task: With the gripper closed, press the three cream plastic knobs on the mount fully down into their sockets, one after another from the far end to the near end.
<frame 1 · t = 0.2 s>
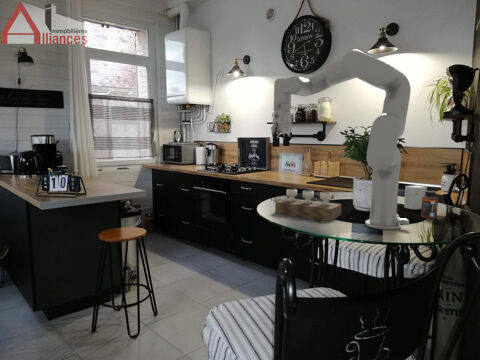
hand: (281, 146, 157), 30 cm above the table, fingers open, 9 cm apart
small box: (414, 208, 167), on the table
knob mount: (307, 214, 155), on the table
knob near: (325, 200, 149), point 7 cm above the table, slide at 0.0 cm
knob far: (291, 196, 158), point 7 cm above the table, slide at 0.0 cm
supplement bottle: (428, 218, 148), on the table
knob middle: (308, 198, 154), point 7 cm above the table, slide at 0.0 cm
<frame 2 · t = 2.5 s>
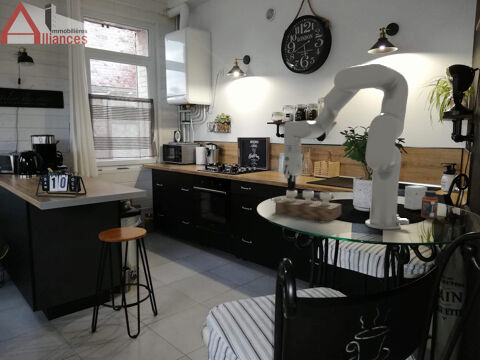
hand: (291, 189, 158), 10 cm above the table, fingers closed
knob far: (291, 197, 158), point 7 cm above the table, slide at 0.4 cm, touching gripper
everything else where it was.
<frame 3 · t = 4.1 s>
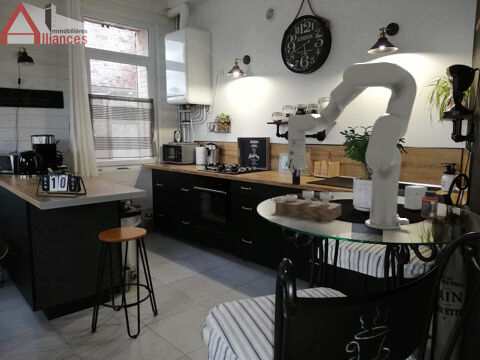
hand: (296, 184, 156), 13 cm above the table, fingers closed
knob far: (291, 202, 159), point 5 cm above the table, slide at 2.6 cm
everything else where it was.
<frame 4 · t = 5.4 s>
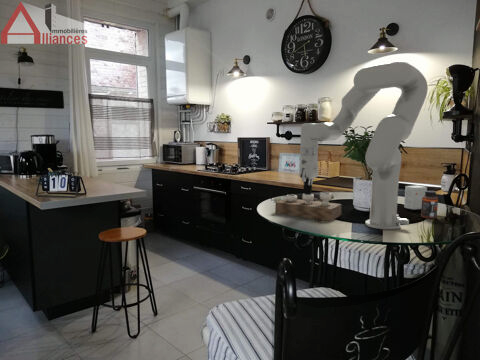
hand: (307, 193, 154), 9 cm above the table, fingers closed
knob middle: (308, 201, 154), point 6 cm above the table, slide at 1.4 cm, touching gripper
everything else where it was.
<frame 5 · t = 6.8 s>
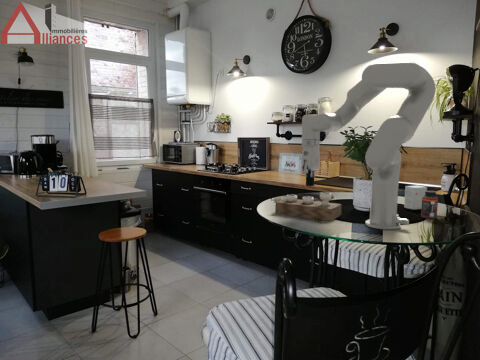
hand: (310, 185, 153), 13 cm above the table, fingers closed
knob middle: (307, 204, 154), point 5 cm above the table, slide at 2.6 cm
everything else where it was.
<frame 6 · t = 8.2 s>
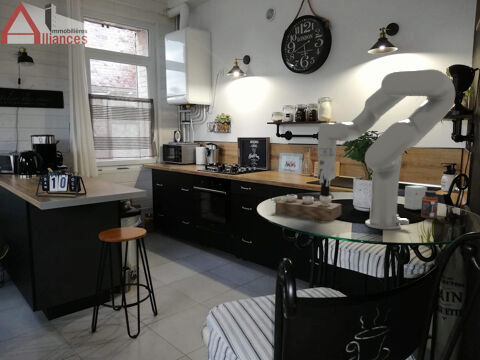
hand: (324, 195, 149), 9 cm above the table, fingers closed
knob near: (325, 203, 150), point 6 cm above the table, slide at 1.4 cm, touching gripper
everything else where it was.
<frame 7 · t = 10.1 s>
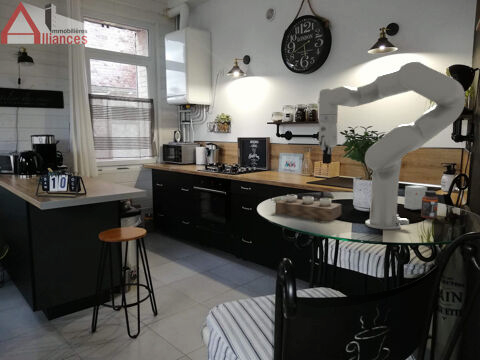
hand: (326, 163, 147), 23 cm above the table, fingers closed
knob near: (325, 206, 150), point 5 cm above the table, slide at 2.6 cm
everything else where it was.
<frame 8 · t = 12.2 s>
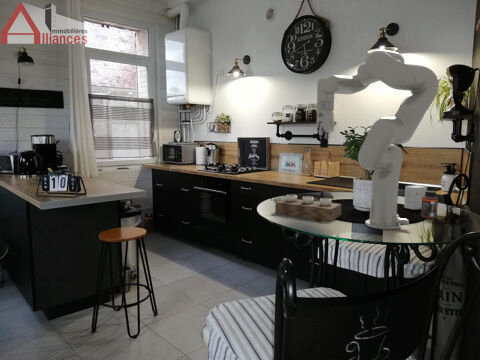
hand: (324, 147, 160), 29 cm above the table, fingers closed
nothing on the table moved.
at the end: knob far slide at 2.6 cm; knob middle slide at 2.6 cm; knob near slide at 2.6 cm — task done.
